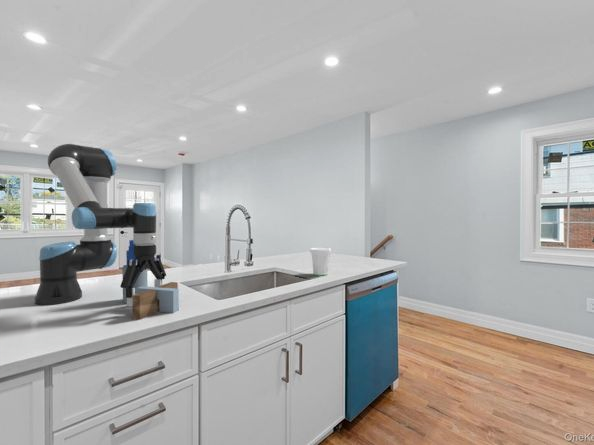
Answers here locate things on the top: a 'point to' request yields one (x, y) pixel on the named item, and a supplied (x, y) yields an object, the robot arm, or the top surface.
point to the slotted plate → (164, 298)
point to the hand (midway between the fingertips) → (145, 300)
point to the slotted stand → (148, 301)
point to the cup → (320, 260)
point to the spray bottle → (142, 277)
